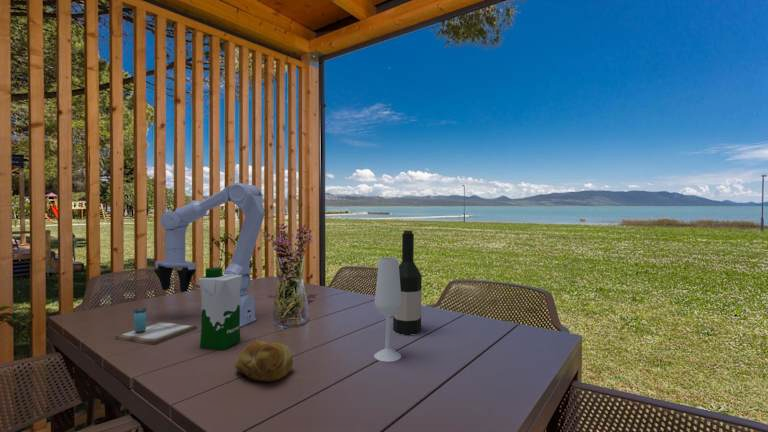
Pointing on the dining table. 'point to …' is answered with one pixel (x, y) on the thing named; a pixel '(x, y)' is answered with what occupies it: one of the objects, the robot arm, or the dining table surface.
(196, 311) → the dining table surface
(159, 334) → the writing board
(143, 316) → the marker
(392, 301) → the champagne flute
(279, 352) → the bread roll
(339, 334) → the dining table surface
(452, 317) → the dining table surface
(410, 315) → the wine bottle
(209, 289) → the milk carton
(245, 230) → the robot arm
